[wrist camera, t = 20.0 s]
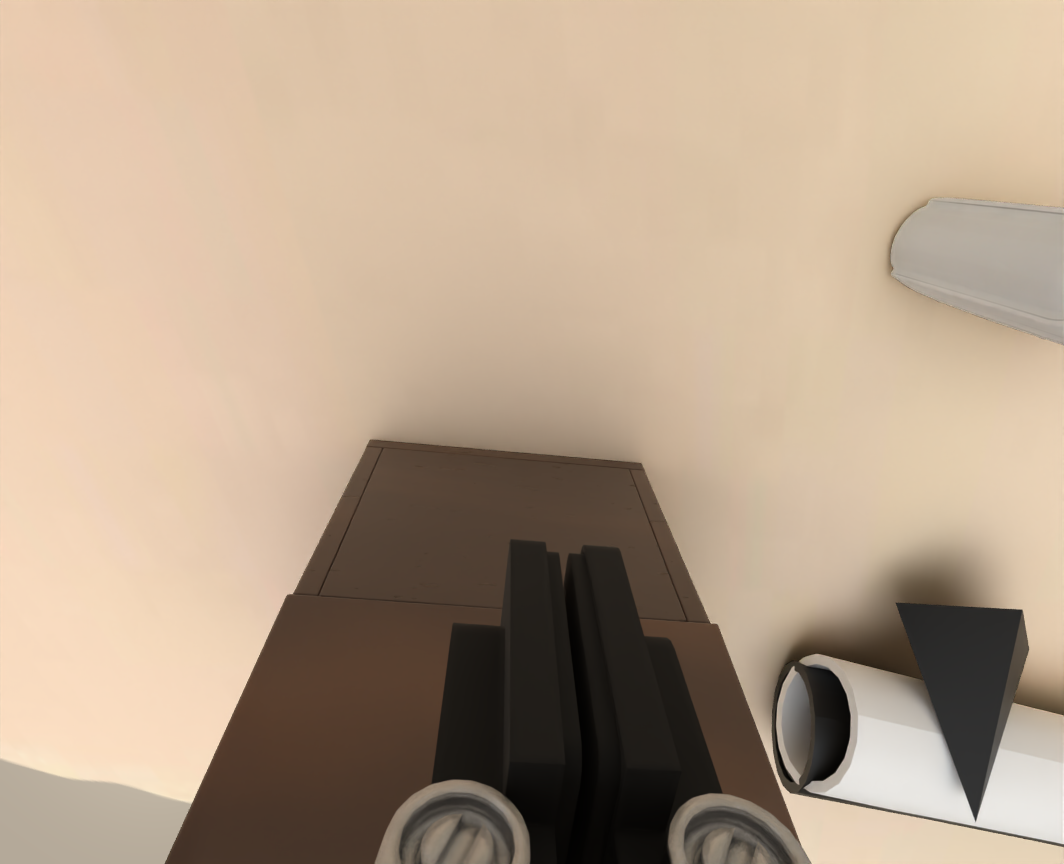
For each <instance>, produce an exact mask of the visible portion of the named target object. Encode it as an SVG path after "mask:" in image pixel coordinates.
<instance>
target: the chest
mask: <svg viewBox="0 0 1064 864" xmlns="http://www.w3.org/2000/svg"><path fill="white" fill-rule="evenodd" d="M510 539H518V540H530V541H543V542H546V548H547V551H550V552H559V556H560V564H561V573H562V581H563V583H564V576H565V570H566V563H567V558H568V554H569V553H576V554H580V552H581V548H582V546H583V545H594V546H607V547H618V548H619V549H620V551H621V554H622V558H623V561H624V565H625V569H626V572H627V576H628V579H629V583H630V587H631V590H632V594H633V597H634V601H635V605H636V608H637V612H638V615H639V619H651V620H666V621H680V622H694V623H709V624H710V621H709V619H708V617H707V614H706V612H705V610H704V608H703V605H702V603H701V601H700V598H699V596H698V594H697V591H696V589H695V587H694V584H693V582H692V580H691V577H690V575H689V573H688V570H687V568H686V566H685V563H684V561H683V559H682V557H681V554H680V552H679V550H678V547H677V545H676V543H675V540H674V538H673V536H672V533H671V531H670V529H669V526H668V524H667V522H666V519H665V517H664V515H663V513H662V510H661V508H660V506H659V503H658V501H657V499H656V496H655V494H654V492H653V489H652V487H651V485H650V482H649V480H648V478H647V475H646V473H645V471H644V468H643V466H642V464H641V463H630V462H619V461H607V460H596V459H584V458H573V457H561V456H550V455H538V454H527V453H515V452H504V451H492V450H481V449H469V448H458V447H446V446H435V445H423V444H412V443H400V442H389V441H377V440H370V441H369V443H368V445H367V447H366V449H365V451H364V453H363V455H362V457H361V459H360V461H359V463H358V465H357V467H356V469H355V471H354V473H353V475H352V477H351V479H350V481H349V483H348V485H347V487H346V489H345V491H344V493H343V495H342V497H341V499H340V501H339V503H338V505H337V507H336V509H335V511H334V513H333V515H332V517H331V519H330V521H329V523H328V525H327V527H326V529H325V531H324V533H323V535H322V537H321V539H320V541H319V543H318V545H317V547H316V549H315V551H314V553H313V555H312V557H311V559H310V561H309V563H308V565H307V567H306V569H305V571H304V573H303V575H302V577H301V579H300V581H299V583H298V585H297V587H296V589H295V591H294V593H293V595H307V596H321V597H336V598H350V599H364V600H379V601H393V602H407V603H422V604H436V605H450V606H465V607H479V608H493V609H502V606H503V597H504V587H505V578H506V569H507V560H508V551H509V544H510Z"/></svg>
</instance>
